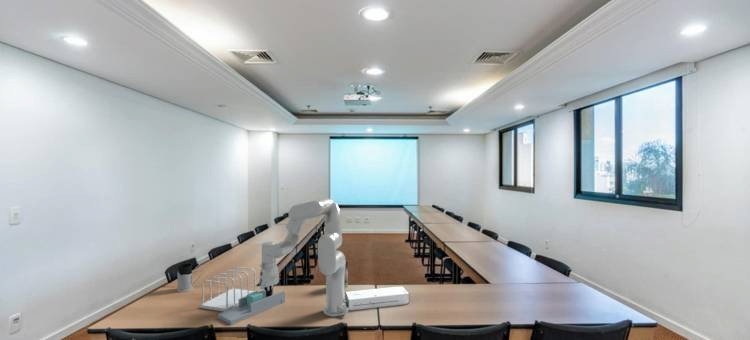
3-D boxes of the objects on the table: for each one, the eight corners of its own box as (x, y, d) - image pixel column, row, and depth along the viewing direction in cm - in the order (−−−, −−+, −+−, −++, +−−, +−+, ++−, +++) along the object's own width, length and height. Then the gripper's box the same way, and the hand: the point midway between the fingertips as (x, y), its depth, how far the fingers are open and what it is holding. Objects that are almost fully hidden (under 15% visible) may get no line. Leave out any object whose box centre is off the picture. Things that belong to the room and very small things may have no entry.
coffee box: (338, 291, 198) (338, 265, 198) (330, 289, 202) (330, 263, 202) (348, 287, 206) (348, 261, 205) (340, 284, 210) (340, 259, 209)
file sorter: (227, 312, 171) (226, 283, 171) (200, 308, 176) (199, 280, 176) (257, 294, 195) (256, 268, 195) (232, 291, 200) (232, 265, 200)
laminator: (348, 311, 173) (348, 299, 173) (344, 301, 185) (344, 290, 185) (409, 304, 181) (409, 293, 181) (402, 295, 193) (402, 285, 193)
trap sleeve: (285, 302, 184) (284, 291, 184) (231, 325, 158) (230, 312, 158) (271, 296, 191) (271, 286, 191) (218, 318, 165) (217, 306, 165)
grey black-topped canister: (177, 288, 205) (176, 264, 204) (203, 284, 211) (202, 261, 211) (176, 293, 197) (176, 268, 197) (203, 289, 204) (202, 265, 203)
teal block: (263, 304, 176) (263, 293, 176) (253, 308, 171) (253, 297, 171) (256, 301, 180) (256, 291, 179) (246, 305, 175) (246, 294, 175)
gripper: (261, 269, 174) (261, 303, 174) (284, 262, 186) (284, 294, 186) (252, 266, 178) (253, 299, 179) (275, 259, 190) (276, 291, 191)
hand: (269, 297), depth 183 cm, fingers closed
